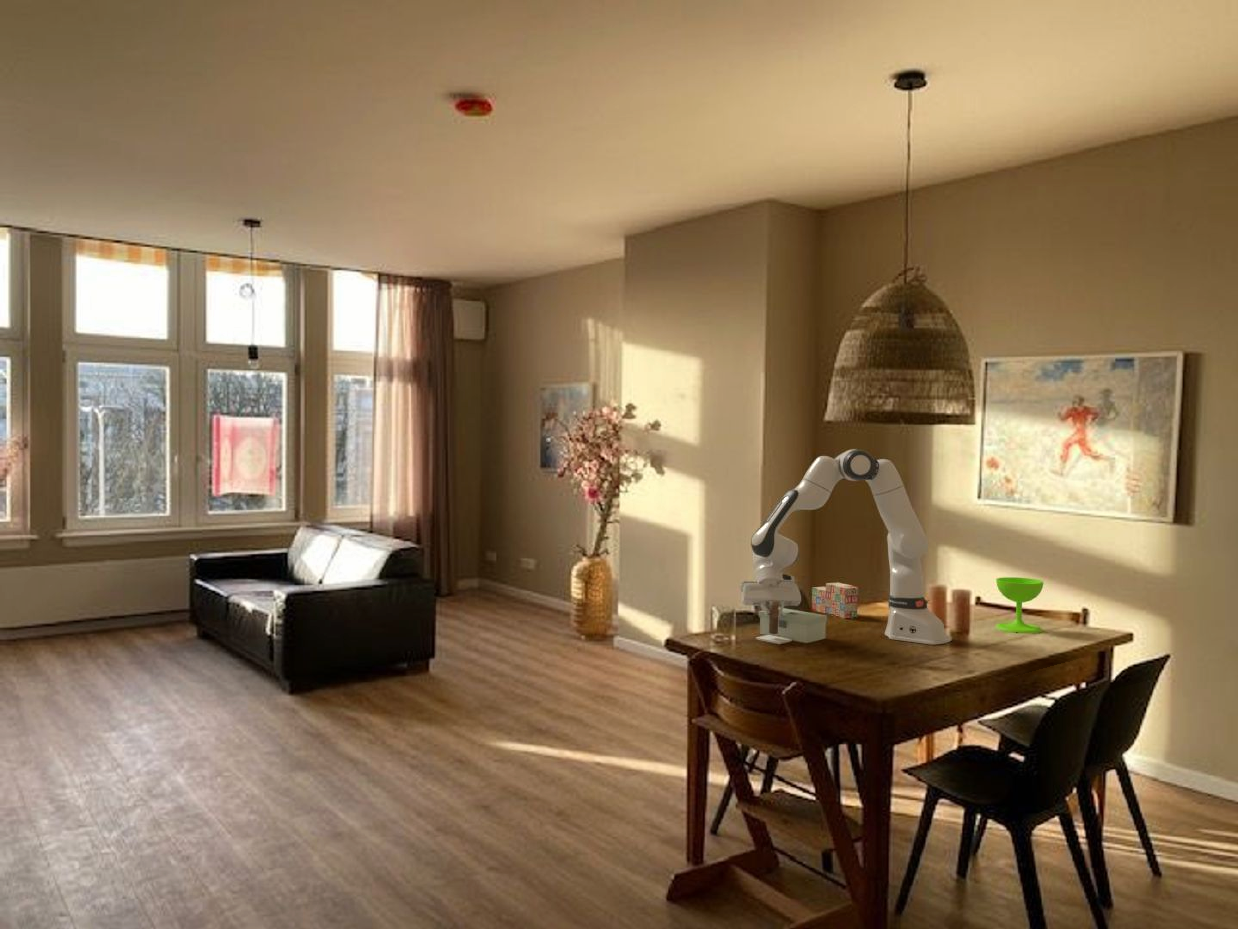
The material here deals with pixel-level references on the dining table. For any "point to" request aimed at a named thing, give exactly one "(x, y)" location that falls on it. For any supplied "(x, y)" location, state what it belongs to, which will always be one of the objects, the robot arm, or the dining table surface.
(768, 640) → the felt mat
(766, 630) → the pale green lidded box
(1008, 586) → the wineglass
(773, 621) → the walnut key
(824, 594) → the stack of blocks
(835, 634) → the dining table surface
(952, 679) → the dining table surface
